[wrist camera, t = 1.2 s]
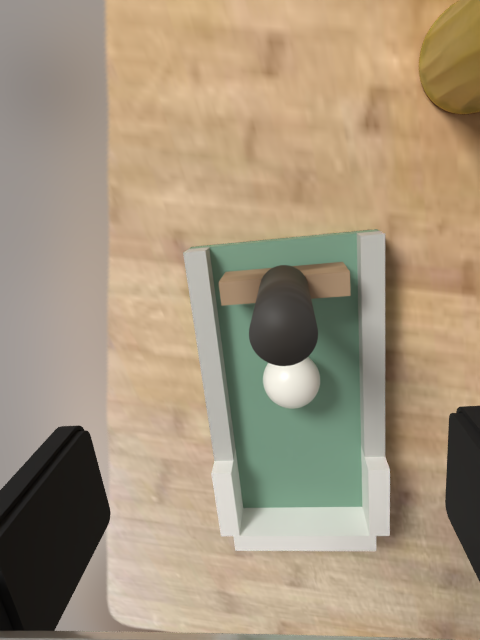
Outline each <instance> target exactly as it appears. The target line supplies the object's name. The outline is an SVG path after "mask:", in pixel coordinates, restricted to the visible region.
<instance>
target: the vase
mask: <svg viewBox="0 0 480 640" xmlns="http://www.w3.org/2000/svg"><path fill="white" fill-rule="evenodd" d="M419 76H420V81H421V84H422V86H423V89H424V91H425V93H426V94H427V96H428V97H429V99H430V100H431V101H432V102H433V103H434V104H436V105H437V106H438V107H440V108H442V109H443V110H445V111H448V112H451V113H456V114H471V113H477V112H480V0H460V1H458V2H456V3H454V4H453V5H451V6H450V7H449V8H448V9H446V10H445V11H444V12H443V13H442V14H441V15H440V16H439V17H438V19H437V20H436V21H435V22H434V24H433V25H432V26H431V28H430V29H429V31H428V33H427V35H426V36H425V39H424V41H423V44H422V48H421V52H420V58H419Z"/></svg>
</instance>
